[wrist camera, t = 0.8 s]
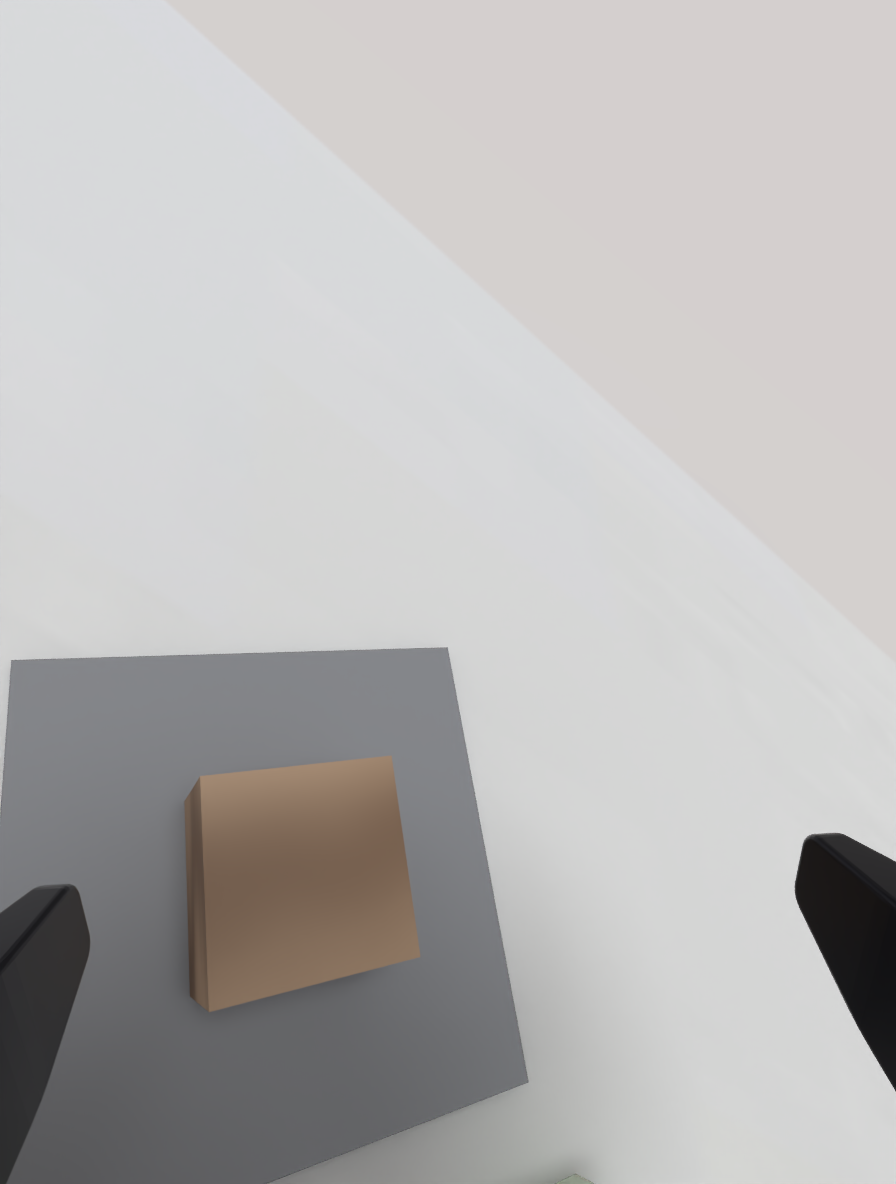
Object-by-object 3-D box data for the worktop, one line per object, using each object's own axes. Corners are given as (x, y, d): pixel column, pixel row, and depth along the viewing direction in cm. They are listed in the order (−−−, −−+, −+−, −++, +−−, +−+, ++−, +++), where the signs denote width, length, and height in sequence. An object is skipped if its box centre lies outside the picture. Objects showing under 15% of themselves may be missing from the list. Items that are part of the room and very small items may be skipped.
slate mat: (521, 1079, 20) (528, 1081, 20) (-32, 1291, 14) (-35, 1299, 14) (443, 651, 26) (447, 647, 25) (13, 664, 19) (11, 660, 19)
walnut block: (368, 951, 20) (420, 956, 17) (189, 996, 17) (208, 1011, 14) (348, 781, 22) (391, 755, 18) (184, 801, 19) (200, 776, 16)
